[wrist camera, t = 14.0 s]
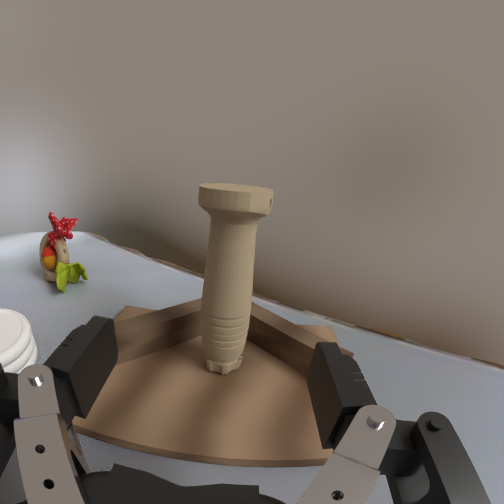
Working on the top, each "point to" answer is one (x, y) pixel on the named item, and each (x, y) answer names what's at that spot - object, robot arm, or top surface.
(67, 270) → the bird rattle
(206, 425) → the v block
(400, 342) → the top surface
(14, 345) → the white round disc stack
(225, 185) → the handle
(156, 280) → the top surface
